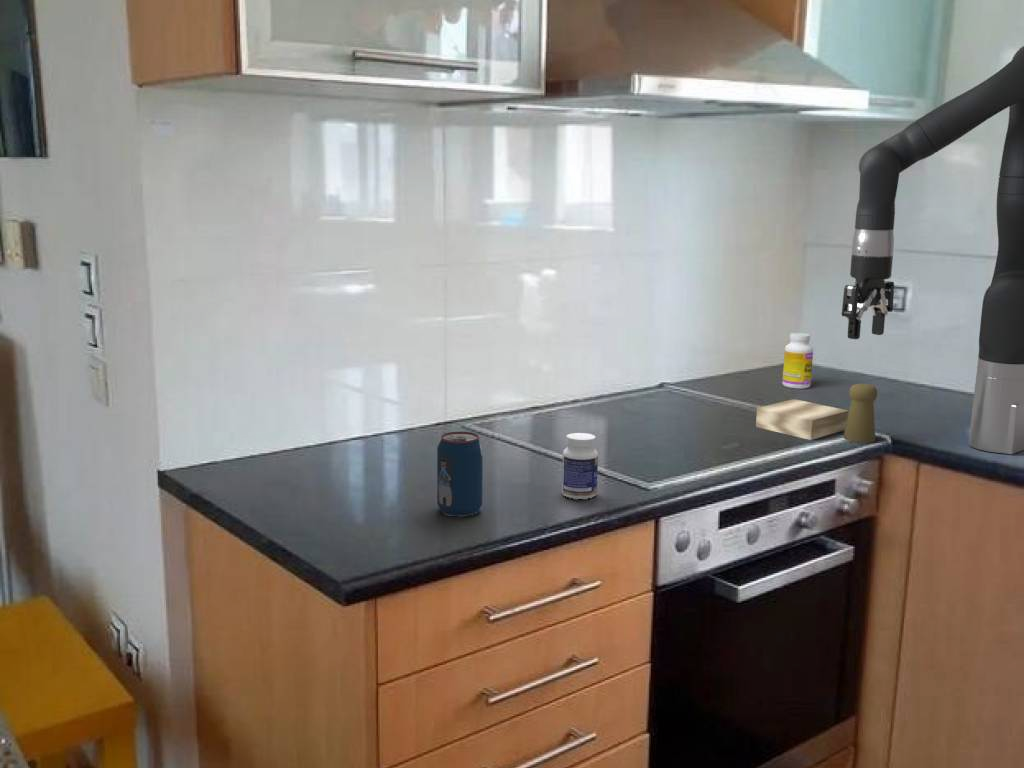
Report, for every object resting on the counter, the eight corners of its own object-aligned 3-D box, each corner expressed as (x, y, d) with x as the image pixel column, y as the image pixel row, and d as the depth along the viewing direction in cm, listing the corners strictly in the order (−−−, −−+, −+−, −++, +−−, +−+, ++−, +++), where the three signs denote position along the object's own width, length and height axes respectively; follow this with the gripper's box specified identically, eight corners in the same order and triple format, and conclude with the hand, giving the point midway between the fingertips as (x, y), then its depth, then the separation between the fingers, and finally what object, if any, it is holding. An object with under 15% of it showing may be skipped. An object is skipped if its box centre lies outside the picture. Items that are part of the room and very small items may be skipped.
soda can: (486, 505, 163) (486, 431, 161) (477, 520, 157) (477, 443, 154) (443, 502, 164) (442, 429, 162) (432, 517, 158) (432, 440, 155)
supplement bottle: (805, 390, 248) (809, 337, 245) (778, 387, 251) (782, 334, 249) (814, 385, 253) (818, 333, 251) (787, 382, 257) (791, 331, 254)
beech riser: (846, 429, 212) (848, 410, 211) (810, 440, 204) (812, 420, 203) (792, 417, 222) (793, 399, 221) (755, 426, 213) (757, 407, 213)
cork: (882, 441, 204) (887, 386, 201) (857, 444, 202) (861, 388, 199) (861, 433, 209) (865, 380, 207) (836, 436, 207) (841, 382, 205)
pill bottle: (602, 499, 167) (604, 439, 165) (568, 502, 165) (570, 441, 163) (589, 488, 172) (591, 430, 170) (556, 491, 171) (558, 432, 169)
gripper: (869, 256, 192) (862, 343, 195) (909, 252, 201) (902, 335, 204) (834, 253, 197) (828, 337, 201) (874, 250, 206) (868, 330, 210)
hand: (865, 336), depth 202 cm, fingers open, 8 cm apart
